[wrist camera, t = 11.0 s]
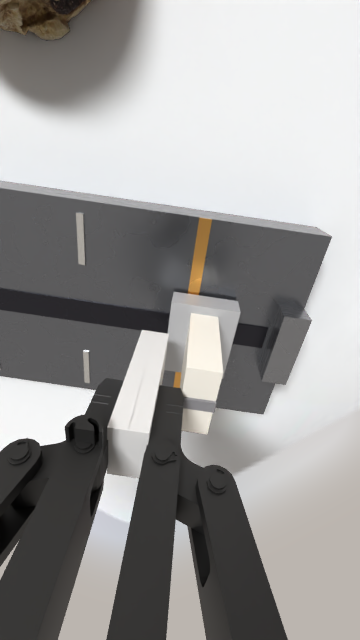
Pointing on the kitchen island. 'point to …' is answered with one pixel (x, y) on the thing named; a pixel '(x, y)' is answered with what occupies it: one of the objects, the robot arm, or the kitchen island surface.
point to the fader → (200, 352)
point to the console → (146, 287)
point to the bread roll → (39, 16)
